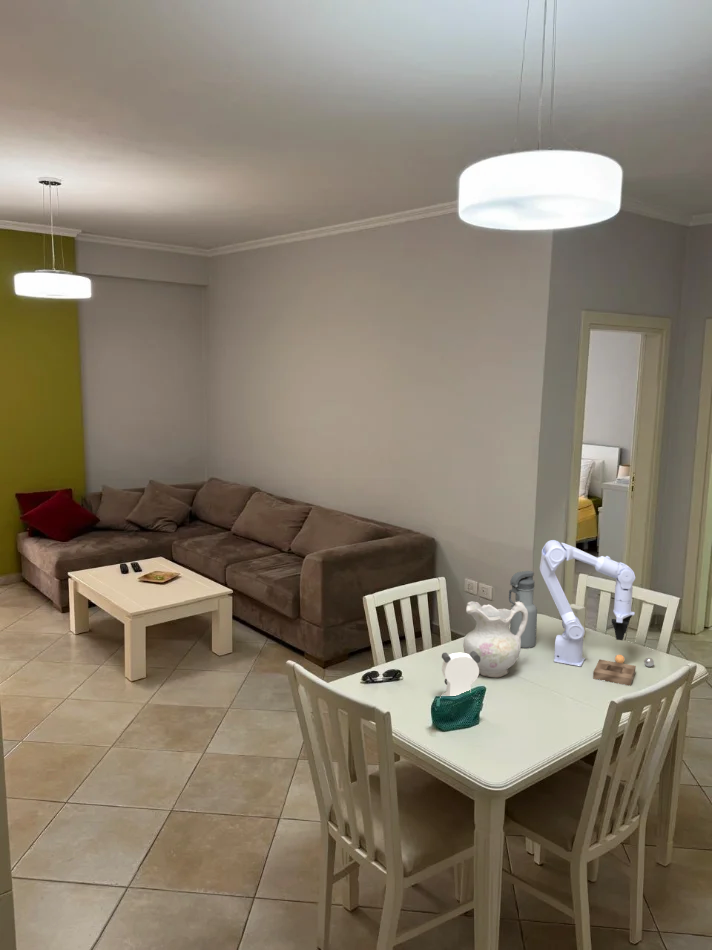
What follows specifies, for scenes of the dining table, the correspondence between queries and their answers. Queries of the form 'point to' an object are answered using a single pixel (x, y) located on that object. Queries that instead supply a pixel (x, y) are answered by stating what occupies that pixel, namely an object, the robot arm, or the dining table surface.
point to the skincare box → (579, 614)
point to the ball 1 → (619, 659)
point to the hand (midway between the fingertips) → (621, 636)
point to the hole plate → (614, 672)
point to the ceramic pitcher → (494, 637)
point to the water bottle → (525, 594)
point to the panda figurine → (460, 671)
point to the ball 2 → (649, 662)
